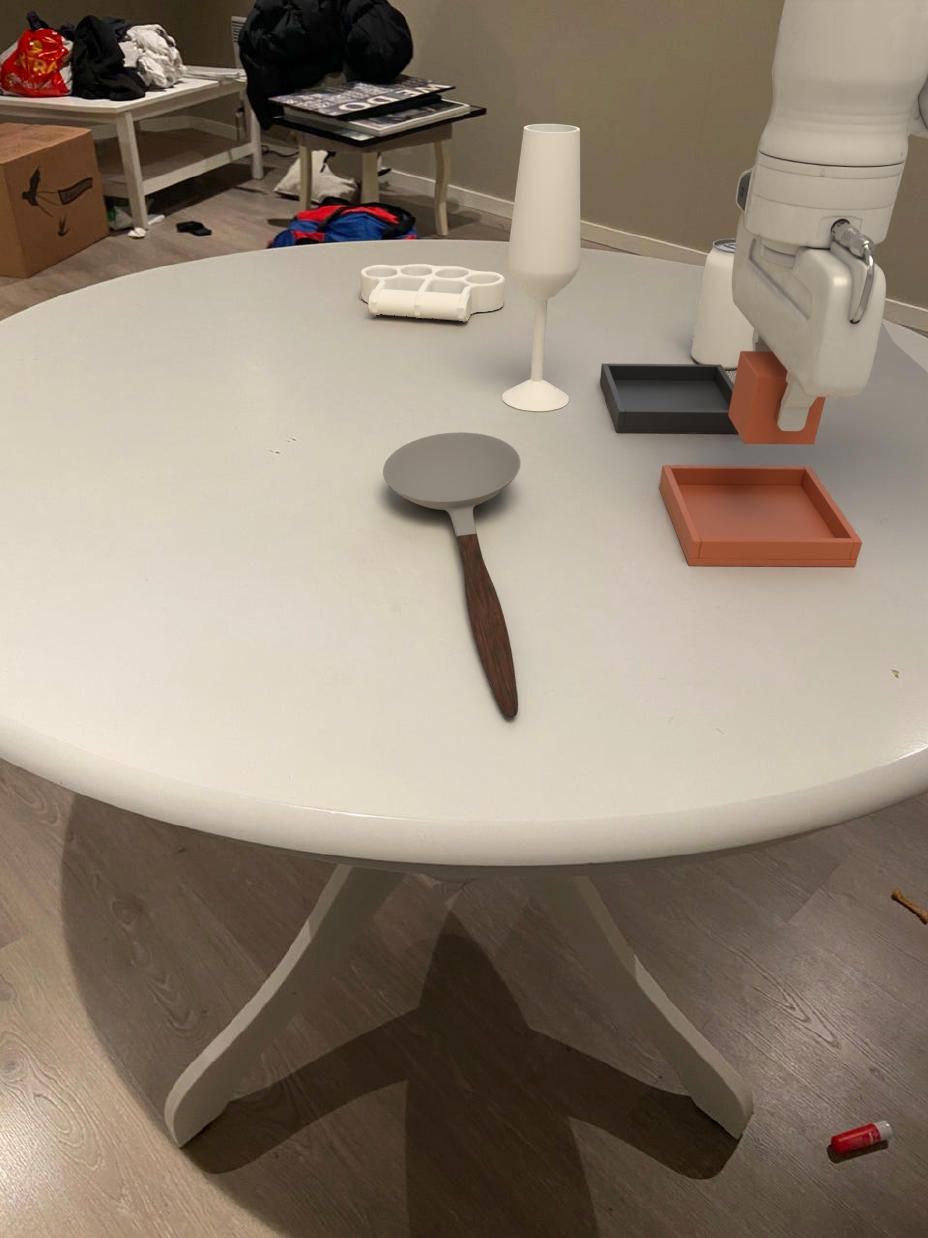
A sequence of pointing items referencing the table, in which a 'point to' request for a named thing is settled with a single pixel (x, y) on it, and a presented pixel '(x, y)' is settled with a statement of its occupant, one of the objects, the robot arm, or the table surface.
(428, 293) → the white brass knuckles
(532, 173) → the champagne flute
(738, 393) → the block
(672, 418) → the charcoal tray
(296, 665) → the table surface
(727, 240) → the can
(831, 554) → the terracotta tray
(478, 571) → the spoon
